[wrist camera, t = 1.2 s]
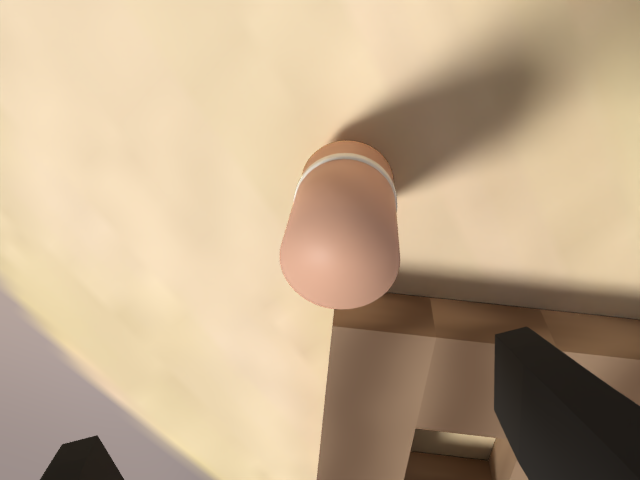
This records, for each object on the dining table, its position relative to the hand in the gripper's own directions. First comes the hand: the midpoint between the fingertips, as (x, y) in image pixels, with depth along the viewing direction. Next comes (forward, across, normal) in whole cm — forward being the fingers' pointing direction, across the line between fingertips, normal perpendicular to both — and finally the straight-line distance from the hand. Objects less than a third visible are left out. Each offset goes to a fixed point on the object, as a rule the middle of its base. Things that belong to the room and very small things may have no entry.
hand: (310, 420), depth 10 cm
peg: (+11, -3, +1) cm, 11 cm away
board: (+9, -8, +13) cm, 18 cm away
